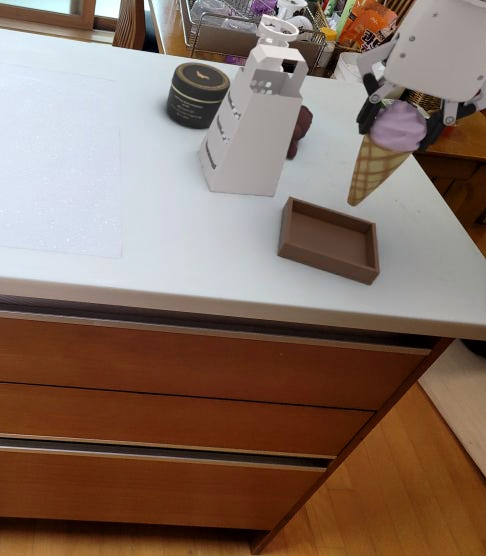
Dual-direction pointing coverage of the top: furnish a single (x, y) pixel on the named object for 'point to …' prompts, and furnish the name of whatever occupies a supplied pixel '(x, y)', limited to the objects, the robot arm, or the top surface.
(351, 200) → the ice cream cone
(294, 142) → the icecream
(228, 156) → the grater
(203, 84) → the jar
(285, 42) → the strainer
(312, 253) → the tray
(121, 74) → the top surface
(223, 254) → the top surface
